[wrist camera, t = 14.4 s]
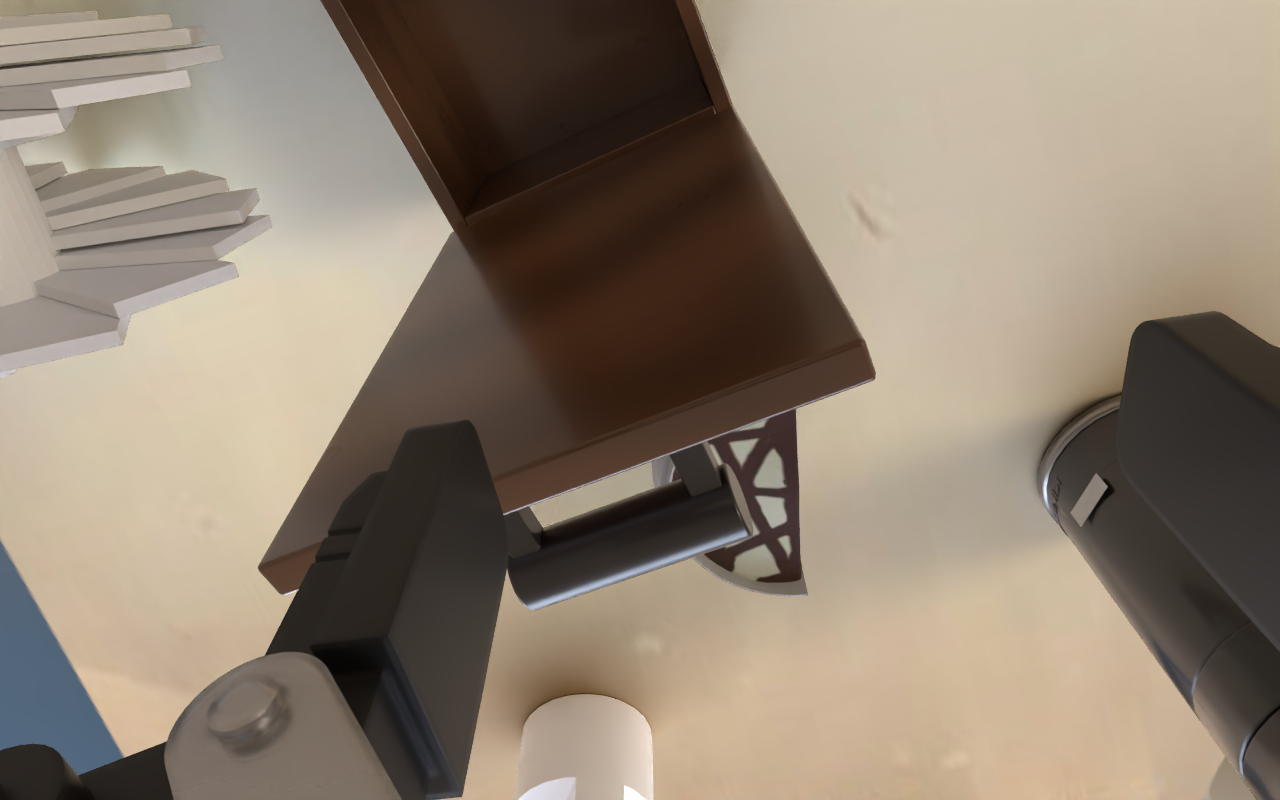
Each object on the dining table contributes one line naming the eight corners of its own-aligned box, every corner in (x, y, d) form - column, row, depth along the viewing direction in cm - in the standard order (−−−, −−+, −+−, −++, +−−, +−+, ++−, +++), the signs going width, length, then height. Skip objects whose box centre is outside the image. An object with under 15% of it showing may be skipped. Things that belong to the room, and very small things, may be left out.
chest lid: (253, 569, 14) (395, 722, 16) (864, 338, 12) (935, 551, 14) (450, 232, 30) (509, 335, 32) (733, 105, 27) (776, 224, 30)
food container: (634, 277, 38) (634, 380, 30) (763, 261, 38) (801, 360, 29) (663, 483, 44) (670, 618, 36) (774, 472, 44) (808, 604, 36)
